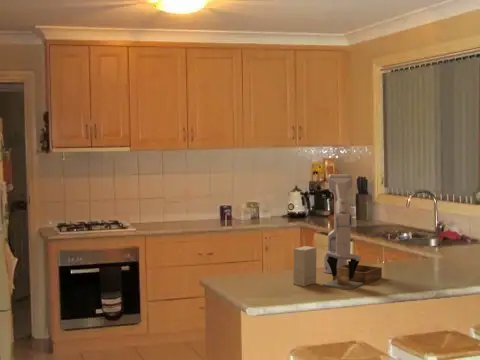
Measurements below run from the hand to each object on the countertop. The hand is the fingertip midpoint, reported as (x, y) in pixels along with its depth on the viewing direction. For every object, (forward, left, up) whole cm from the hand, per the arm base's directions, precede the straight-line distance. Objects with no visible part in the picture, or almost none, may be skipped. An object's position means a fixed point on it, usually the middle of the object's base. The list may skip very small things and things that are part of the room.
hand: (342, 277), depth 293 cm
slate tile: (0, 0, -3) cm, 3 cm away
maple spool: (0, 0, -3) cm, 3 cm away
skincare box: (-14, -6, -4) cm, 16 cm away
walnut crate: (-1, +15, -3) cm, 15 cm away
